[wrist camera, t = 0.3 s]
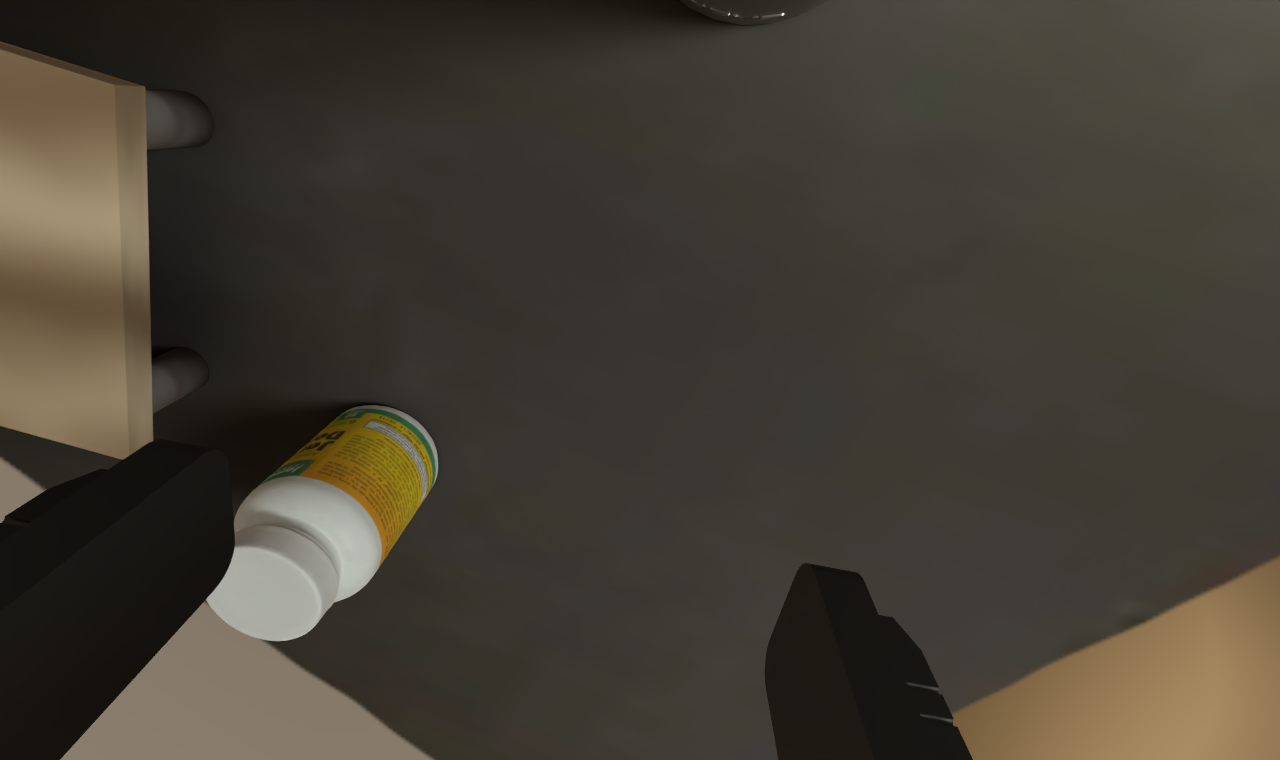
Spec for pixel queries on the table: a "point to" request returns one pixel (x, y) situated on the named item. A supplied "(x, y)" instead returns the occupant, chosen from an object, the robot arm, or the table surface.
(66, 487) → the robot arm
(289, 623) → the supplement bottle
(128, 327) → the peg shelf
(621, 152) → the table surface
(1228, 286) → the table surface
